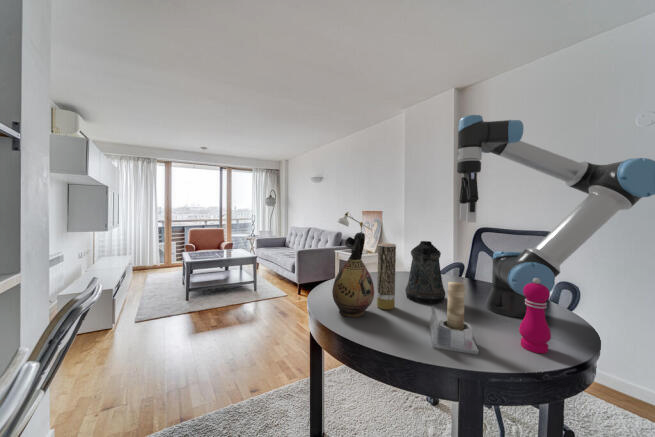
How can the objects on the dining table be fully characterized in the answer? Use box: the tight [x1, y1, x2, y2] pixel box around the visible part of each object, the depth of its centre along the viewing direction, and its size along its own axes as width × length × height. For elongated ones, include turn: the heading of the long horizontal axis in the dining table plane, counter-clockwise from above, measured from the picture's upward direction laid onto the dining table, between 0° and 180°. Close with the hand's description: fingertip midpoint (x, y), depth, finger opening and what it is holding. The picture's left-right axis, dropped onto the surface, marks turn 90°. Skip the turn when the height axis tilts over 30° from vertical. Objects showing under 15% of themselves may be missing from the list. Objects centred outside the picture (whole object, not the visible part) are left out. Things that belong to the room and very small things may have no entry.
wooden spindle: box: [446, 281, 466, 330], centre depth 83 cm, size 4×4×16 cm
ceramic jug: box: [331, 231, 375, 318], centre depth 105 cm, size 17×15×30 cm
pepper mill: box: [518, 278, 552, 354], centre depth 79 cm, size 7×7×20 cm
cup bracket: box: [429, 305, 480, 355], centre depth 83 cm, size 12×12×8 cm
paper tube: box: [376, 242, 397, 311], centre depth 110 cm, size 7×7×25 cm
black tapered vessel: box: [404, 240, 446, 305], centre depth 121 cm, size 16×19×25 cm
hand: (467, 221), depth 100 cm, fingers open, 13 cm apart
